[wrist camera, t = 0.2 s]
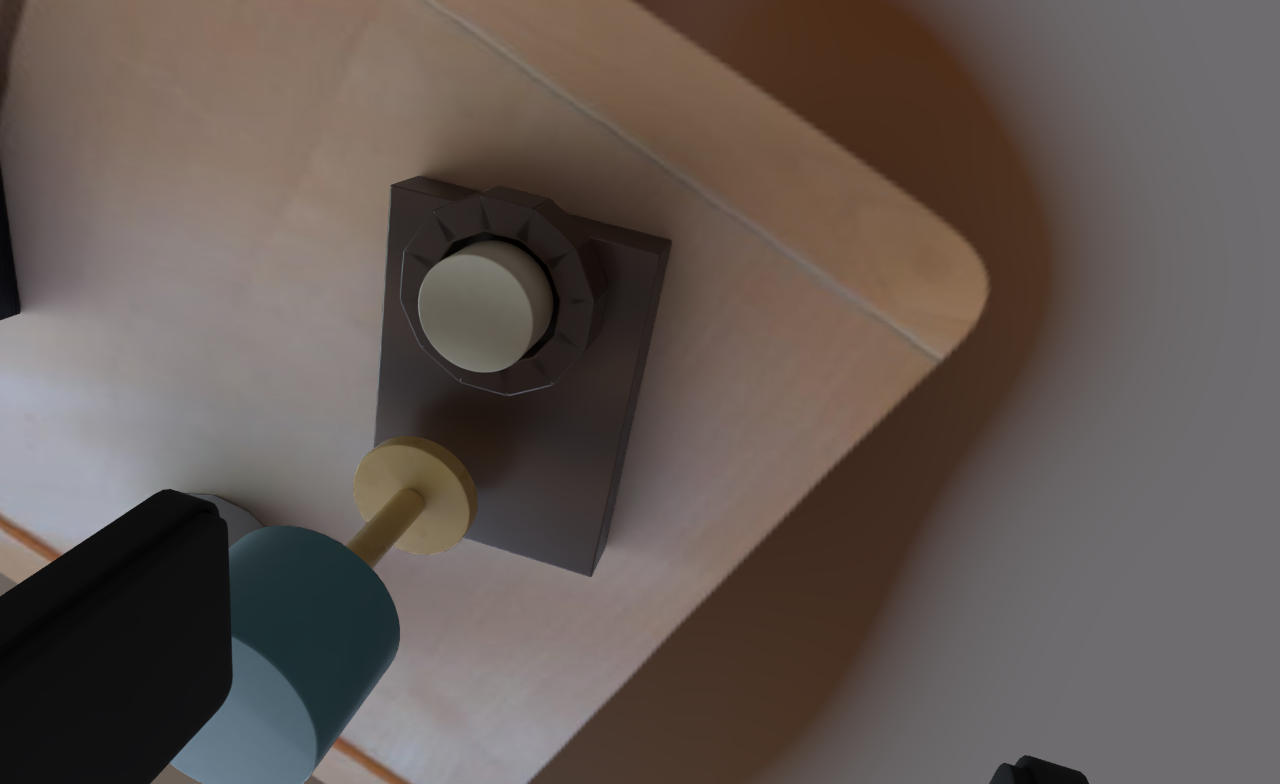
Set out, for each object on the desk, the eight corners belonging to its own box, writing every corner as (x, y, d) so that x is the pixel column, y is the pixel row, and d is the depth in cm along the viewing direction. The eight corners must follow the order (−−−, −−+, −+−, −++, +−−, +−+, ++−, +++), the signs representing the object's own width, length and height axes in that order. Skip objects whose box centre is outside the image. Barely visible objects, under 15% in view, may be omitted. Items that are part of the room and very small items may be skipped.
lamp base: (420, 149, 31) (364, 164, 27) (678, 214, 30) (655, 239, 26) (394, 483, 37) (346, 531, 34) (605, 548, 36) (578, 605, 32)
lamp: (353, 402, 31) (103, 588, 21) (502, 446, 30) (321, 663, 20) (346, 531, 34) (121, 755, 23) (483, 575, 33) (315, 826, 22)
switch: (450, 227, 28) (422, 240, 26) (562, 256, 27) (541, 272, 26) (439, 335, 30) (412, 355, 28) (544, 364, 29) (524, 386, 27)
